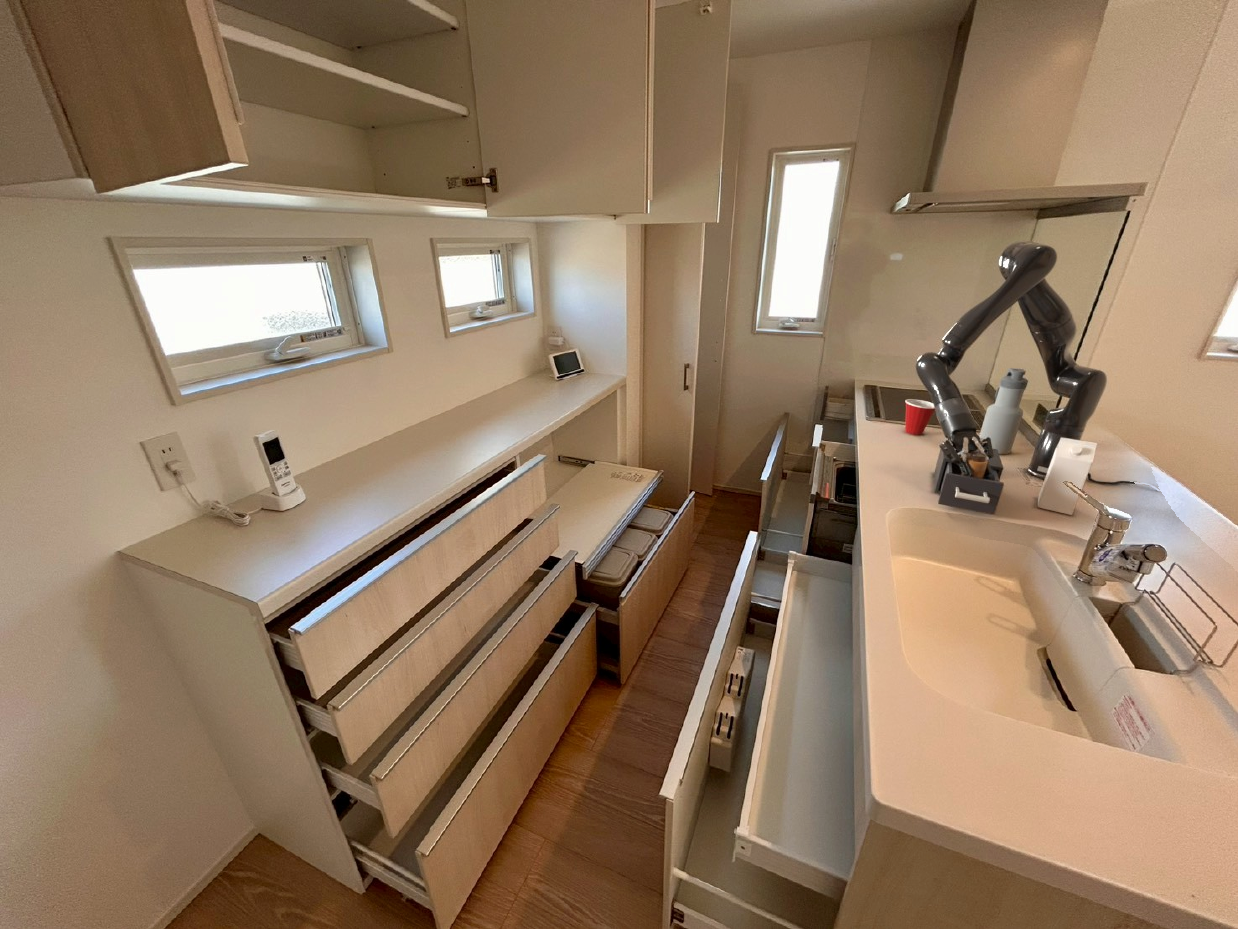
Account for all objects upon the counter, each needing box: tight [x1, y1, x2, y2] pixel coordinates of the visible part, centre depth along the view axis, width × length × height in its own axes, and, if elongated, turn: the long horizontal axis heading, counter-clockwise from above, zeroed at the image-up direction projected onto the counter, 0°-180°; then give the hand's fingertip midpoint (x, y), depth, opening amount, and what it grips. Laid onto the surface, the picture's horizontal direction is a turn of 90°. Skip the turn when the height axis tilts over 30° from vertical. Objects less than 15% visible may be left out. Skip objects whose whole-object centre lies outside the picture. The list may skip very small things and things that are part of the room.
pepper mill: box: [961, 452, 988, 479], centre depth 131 cm, size 5×5×10 cm
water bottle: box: [978, 367, 1029, 455], centre depth 167 cm, size 10×10×28 cm
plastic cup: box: [904, 398, 936, 436], centre depth 187 cm, size 11×11×12 cm
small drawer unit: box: [933, 448, 1004, 495], centre depth 143 cm, size 16×14×11 cm
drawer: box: [937, 462, 1005, 516], centre depth 132 cm, size 20×12×9 cm, turn 150°
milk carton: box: [1037, 437, 1098, 516], centre depth 130 cm, size 7×7×19 cm
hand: (978, 475), depth 129 cm, fingers closed on pepper mill, 5 cm apart
